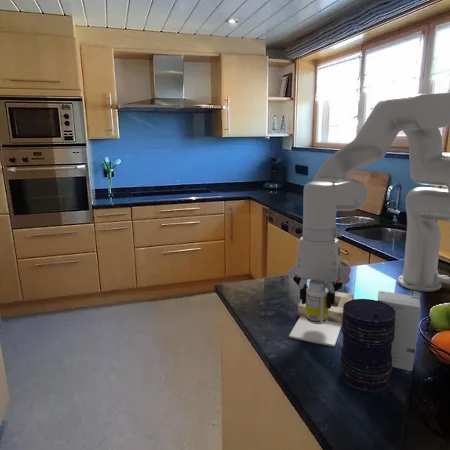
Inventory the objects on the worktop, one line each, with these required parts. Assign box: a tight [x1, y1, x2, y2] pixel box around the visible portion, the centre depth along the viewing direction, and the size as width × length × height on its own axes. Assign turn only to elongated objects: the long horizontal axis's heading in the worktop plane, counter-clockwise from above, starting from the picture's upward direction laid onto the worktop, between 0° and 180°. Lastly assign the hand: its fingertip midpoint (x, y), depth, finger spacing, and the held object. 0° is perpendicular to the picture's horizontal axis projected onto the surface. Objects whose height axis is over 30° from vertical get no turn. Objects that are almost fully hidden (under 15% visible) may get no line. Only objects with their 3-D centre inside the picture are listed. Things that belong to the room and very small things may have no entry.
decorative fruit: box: [335, 258, 352, 283], centre depth 122 cm, size 9×8×10 cm
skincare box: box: [377, 290, 421, 372], centre depth 80 cm, size 8×6×15 cm
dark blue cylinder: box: [340, 298, 396, 392], centre depth 75 cm, size 10×10×15 cm
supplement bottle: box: [306, 279, 329, 324], centre depth 92 cm, size 6×6×10 cm
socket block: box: [297, 291, 355, 323], centre depth 105 cm, size 13×13×3 cm
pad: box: [288, 316, 342, 348], centre depth 94 cm, size 11×11×1 cm
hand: (317, 303), depth 92 cm, fingers closed on supplement bottle, 5 cm apart
